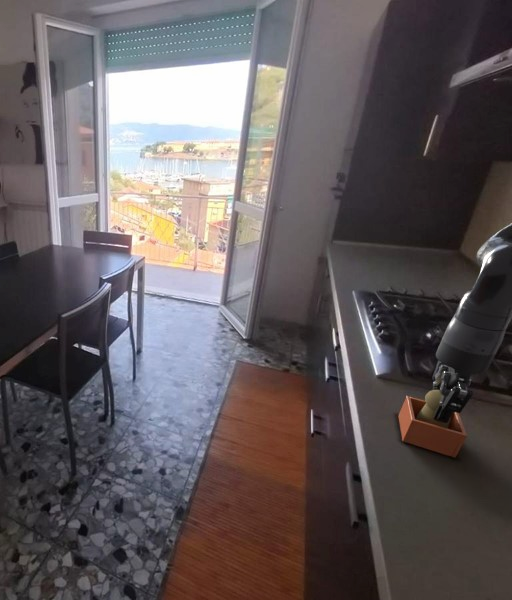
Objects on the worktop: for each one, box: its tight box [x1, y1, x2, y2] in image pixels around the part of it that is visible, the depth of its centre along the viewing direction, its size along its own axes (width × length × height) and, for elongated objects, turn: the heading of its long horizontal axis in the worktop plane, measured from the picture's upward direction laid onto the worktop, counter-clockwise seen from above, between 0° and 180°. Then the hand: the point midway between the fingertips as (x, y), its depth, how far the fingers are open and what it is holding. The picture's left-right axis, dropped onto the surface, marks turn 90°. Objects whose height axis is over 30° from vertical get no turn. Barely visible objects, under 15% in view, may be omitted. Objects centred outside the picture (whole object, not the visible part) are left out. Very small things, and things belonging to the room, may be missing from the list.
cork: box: [415, 389, 455, 429], centre depth 75 cm, size 6×6×11 cm
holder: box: [397, 395, 468, 459], centre depth 76 cm, size 9×9×6 cm
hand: (437, 411), depth 74 cm, fingers closed on cork, 5 cm apart
